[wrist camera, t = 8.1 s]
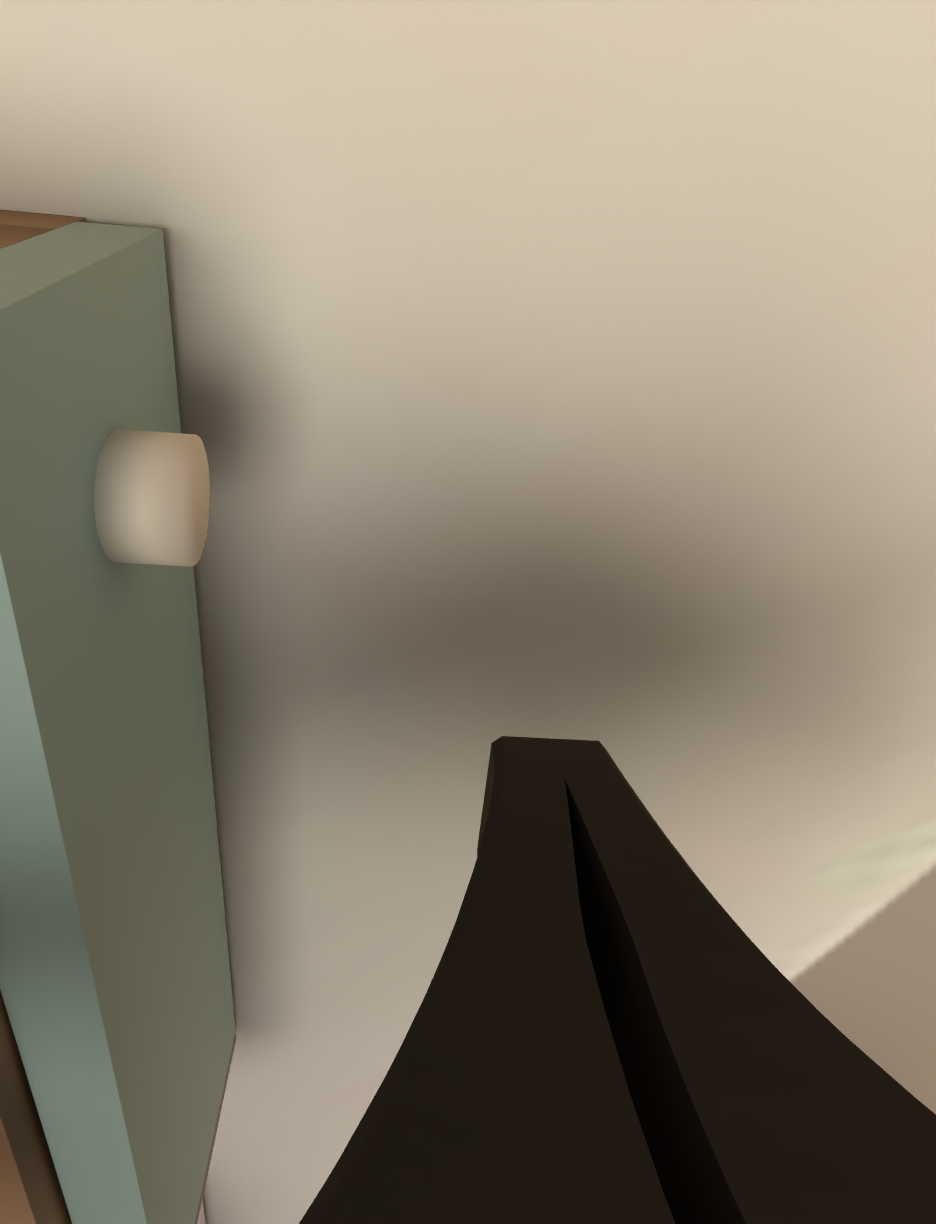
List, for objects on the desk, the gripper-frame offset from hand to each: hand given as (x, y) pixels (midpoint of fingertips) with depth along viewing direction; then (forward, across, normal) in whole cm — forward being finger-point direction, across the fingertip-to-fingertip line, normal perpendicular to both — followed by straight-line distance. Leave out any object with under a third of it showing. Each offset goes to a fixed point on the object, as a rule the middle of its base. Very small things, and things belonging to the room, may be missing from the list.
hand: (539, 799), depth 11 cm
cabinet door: (+3, +5, +2) cm, 6 cm away
